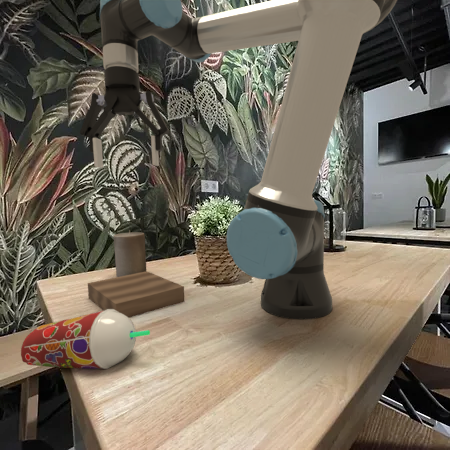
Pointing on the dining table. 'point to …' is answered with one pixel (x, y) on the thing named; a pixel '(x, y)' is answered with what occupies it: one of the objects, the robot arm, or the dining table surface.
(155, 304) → the walnut shelf board
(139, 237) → the pillar candle
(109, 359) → the smoothie
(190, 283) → the dining table surface
